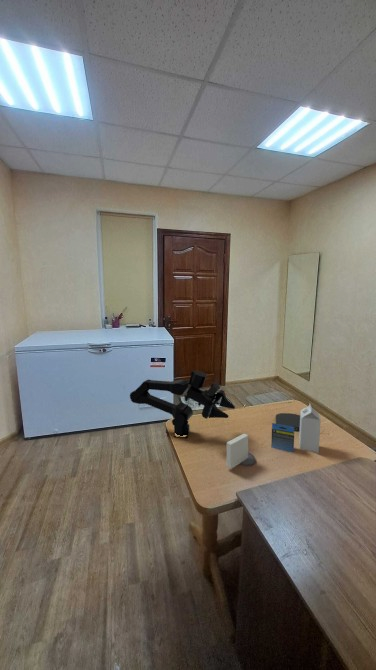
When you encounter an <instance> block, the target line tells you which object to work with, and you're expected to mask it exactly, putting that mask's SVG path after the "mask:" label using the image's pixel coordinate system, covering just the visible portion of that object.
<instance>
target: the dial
mask: <svg viewBox="0 0 376 670" xmlns="http://www.w3.org/2000/svg"><path fill="white" fill-rule="evenodd" d="M255 463H256V457H255V455H253V453H251V452H249V434H246V433H245V432H244V433H242V434H240V435H238V436H236V437H234V438H232V439H231V440H228V441H227V442H226V463H225V464H226V467H227V468H229V469H230V470H231V469H232V468H235V467H236V466H237V465H239V464H240V465H242V466H248V467H249V466H252V465H254V464H255Z"/></svg>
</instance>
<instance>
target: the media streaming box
mask: <svg viewBox="0 0 376 670" xmlns="http://www.w3.org/2000/svg"><path fill="white" fill-rule="evenodd" d="M275 424H281V425H286V426H292V427H294V432H299V431H300V414H297V413H290V412H289V413H288V412H282V413H277V414H275ZM279 428H281V429H286V428H284V427H279Z"/></svg>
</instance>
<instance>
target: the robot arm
mask: <svg viewBox="0 0 376 670" xmlns="http://www.w3.org/2000/svg"><path fill="white" fill-rule="evenodd" d="M206 378H207V373H205V372H204V371H200V370H191V372H190V377H189V379H187V380H186V379H177V380H173V381H169V380H155V379H149V378H148V379H146V380H144V381H142V383H140V385H139V386H138V387H137V388H136V389H135V390H133V391H131V392H130V394H129V398H130V402H132V403H134V404H138V405H145V404H146V405H148V406H150V407H153V408H155V409H157V410H160V411H163V412H165V413H167V414H170V415H171V416H172V417H173V419H172V420H171V423H172V425H173V426H174V427H173V428H174V430H173V431H174V433H176V434H177V435H180V436H183V435H188V436H189V434H190V430H191V429H190V424H189V420H190V419H191V418H192V416H193V413H194V411H193V409H192V407H191V406H190V405H189V404H185V403H184V402H183V401H181V402H179V403H178V404H175V403H172V402H170V401H167V400H165V399H162V398H160V397H157V396H155V395H152V394H151V393H150V392H149V391H150V390H152V391H162V392H163V391H164V392H170V393H171V394H173V395H176V396H182V395H184V394H185V393H186V394H185V395H184V396H183V397H184V400H185V402H188V401H189V400H193V401H194V402H195V403H196V402H197V405H198V406H201V405H202V406H203V409H202V411H201V416H202V418H204V419H206V420H207V419H211V418H213V419H220V418H221V419H222V418H223V419H228V418H229V416H230V415H229V414H227V413H226V412H224V411H223V410H221V409H219V408H218V407H217V405H218V406H219V407H222V408H226V409H227V408H228V409H233V410H234V409H235V408H236V406H235V405H234V404H233V403H232V402H231V401H230V400H229V399H228V398H227V397H226V391H225V390H223V389H221V387H220V384H219V383H218V382H215V381H214V382H212V383H211V384H210V387H209V388H208V389H205V390H203V389H201V388H203V387H204V385H205V381H206ZM174 433H173V434H174Z"/></svg>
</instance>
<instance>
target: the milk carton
mask: <svg viewBox="0 0 376 670" xmlns="http://www.w3.org/2000/svg"><path fill="white" fill-rule="evenodd" d="M299 415H300V431H298V433H299V434H298V435H299V436H298V437H299V438H298V441H299V442H298V445H299V446H298V447H299V449H300V450H304V451H309V452H311V453H313V454H316V455H319V452H320V438H321V436H320V435H321V416H320V413H319V412H318V411H317V410H315V409H314V408H313V407H312V404H309V405H308V406H307V407H304V408H302V409H301V410H300V414H299Z"/></svg>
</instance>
